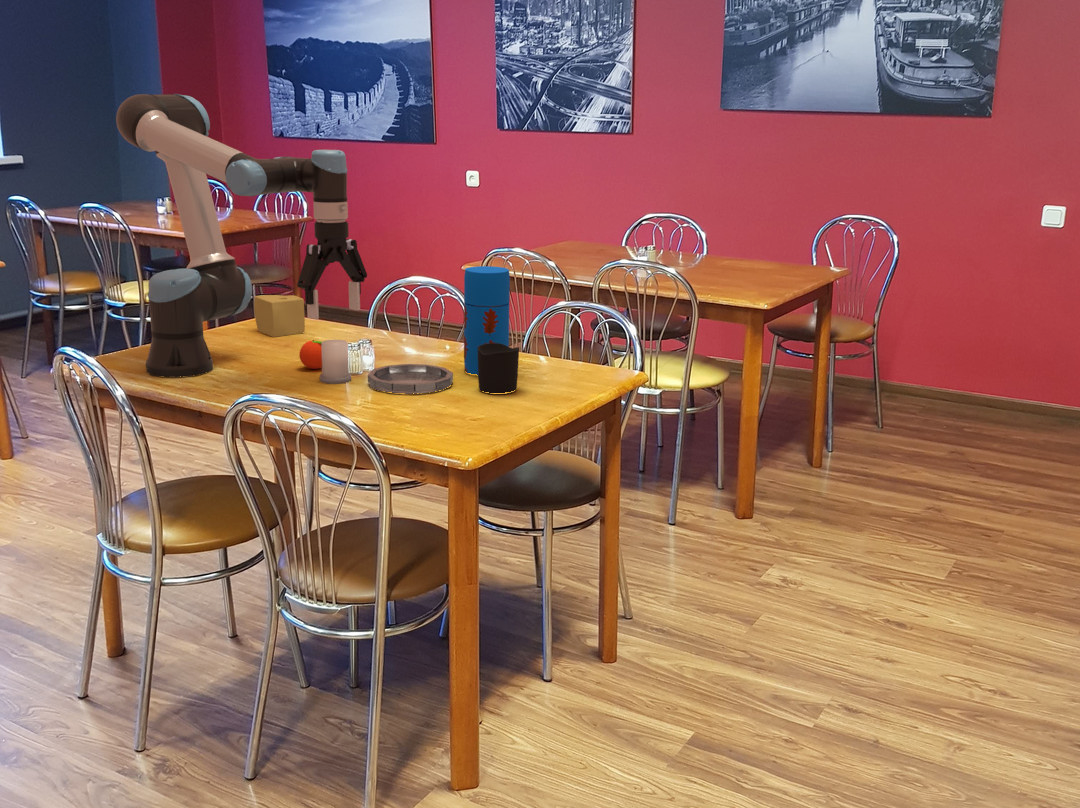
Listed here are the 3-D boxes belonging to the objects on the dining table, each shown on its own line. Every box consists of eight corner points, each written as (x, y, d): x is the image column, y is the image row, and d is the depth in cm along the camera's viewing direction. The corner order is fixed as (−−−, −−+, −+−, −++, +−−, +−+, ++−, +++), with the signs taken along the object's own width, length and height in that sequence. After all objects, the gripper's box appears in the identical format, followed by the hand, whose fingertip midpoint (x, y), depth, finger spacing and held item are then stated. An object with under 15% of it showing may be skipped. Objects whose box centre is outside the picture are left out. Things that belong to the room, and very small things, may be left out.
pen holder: (515, 384, 257) (516, 342, 254) (520, 395, 248) (521, 352, 245) (475, 385, 255) (475, 343, 252) (479, 396, 246) (479, 352, 244)
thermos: (468, 378, 261) (469, 273, 254) (459, 367, 271) (460, 266, 264) (513, 376, 264) (514, 272, 257) (502, 365, 274) (504, 265, 267)
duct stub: (336, 385, 252) (335, 347, 250) (313, 380, 256) (312, 342, 253) (357, 379, 258) (356, 341, 255) (335, 374, 262) (333, 337, 259)
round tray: (416, 399, 242) (416, 388, 242) (352, 385, 252) (351, 375, 252) (468, 382, 258) (468, 372, 257) (405, 369, 268) (405, 360, 267)
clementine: (337, 367, 269) (337, 338, 267) (325, 373, 262) (324, 344, 260) (308, 364, 271) (307, 336, 269) (294, 370, 264) (293, 341, 262)
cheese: (288, 327, 313) (287, 292, 310) (307, 333, 305) (305, 298, 302) (254, 331, 306) (252, 295, 303) (272, 338, 298) (270, 301, 295)
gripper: (303, 226, 235) (307, 324, 240) (380, 217, 255) (382, 307, 261) (278, 223, 239) (282, 320, 244) (356, 215, 259) (359, 304, 265)
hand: (334, 314), depth 252 cm, fingers open, 13 cm apart
